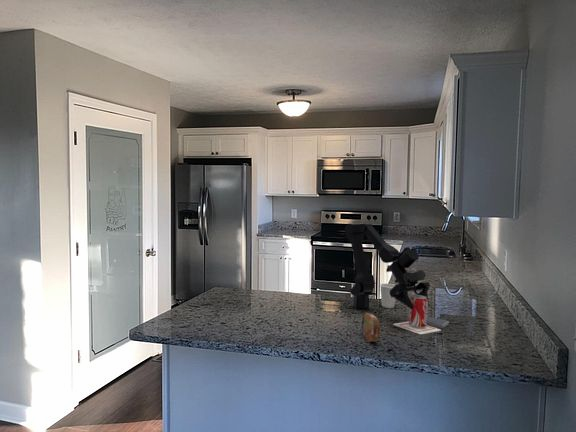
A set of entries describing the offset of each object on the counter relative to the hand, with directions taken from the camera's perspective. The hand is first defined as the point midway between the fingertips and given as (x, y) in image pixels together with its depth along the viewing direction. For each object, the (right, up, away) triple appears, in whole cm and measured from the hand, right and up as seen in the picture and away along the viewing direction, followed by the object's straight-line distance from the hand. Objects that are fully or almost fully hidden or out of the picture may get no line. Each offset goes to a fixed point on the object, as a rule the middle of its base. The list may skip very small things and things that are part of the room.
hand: (420, 307), depth 178 cm
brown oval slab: (-23, -8, -15) cm, 29 cm away
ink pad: (+7, -8, +9) cm, 14 cm away
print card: (-1, -8, +2) cm, 8 cm away
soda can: (-1, -8, +2) cm, 9 cm away
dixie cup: (-5, -7, +35) cm, 36 cm away
